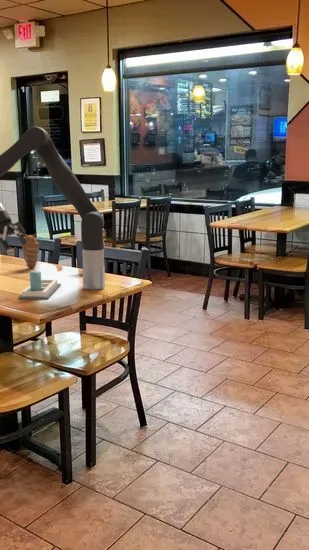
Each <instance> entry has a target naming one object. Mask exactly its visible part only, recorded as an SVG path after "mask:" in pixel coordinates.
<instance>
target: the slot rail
mask: <svg viewBox="0 0 309 550" xmlns="http://www.w3.org/2000/svg"><path fill="white" fill-rule="evenodd" d="M61 286H62V284H61V283H58V279H41V291H30V284H29V285H28V286H27V287H25V288H24V289H23V290H22V291H21V294H20V295H19V296H18V299H19V300H49V299H50V298H52V296H53V295H54V294H55V293H56V291H58V289H59V288H60V287H61Z"/></svg>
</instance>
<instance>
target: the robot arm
mask: <svg viewBox="0 0 309 550" xmlns="http://www.w3.org/2000/svg"><path fill="white" fill-rule="evenodd" d="M33 151H36V153H37V154H38V156H39V157H40V158H41V160H42V161H43V163H44V164H45V167H46V169H47V171H48V174H49V176H50V178H51V181H52V182H53V183H54V185H55V186H56V188H57V189H58V191H59V193H60V194H61V195H62V196H63V197H64V198H65V199H66V200H67V201H68V202H69V203H70V204H71V205H72V207H73V208H75V210H76V211H77V213H78V215H79V216H80V218H81V223H80V233H81V234H80V236H81V237H80V238H81V245H82V288H83V289H86V290H103V289H105V286H106V282H105V281H106V279H105V278H106V274H105V269H106V268H105V262H104V261H105V255H104V254H105V251H104V250H105V247H104V246H105V245H104V239H103V237H104V235H103V234H104V233H103V232H104V229H103V228H104V226H105V219H104V216H103V215H102V213H101V212H100V211H99V210H98V209H97V208H96V206H95V205H94V204H93V203H92V201H91V200H90V198H89V196H88V195H87V193H86V192H85V189H84V188H83V186H82V185H81V183H80V181H79V179H78V178H77V176H76V175H75V173H74V172H73V170H72V169H71V167H70V166H69V164H68V163H67V162H66V161H65V159H64V158H63V157H62V156H61V155H60V153H59V152H58V150H57V148H56V147H55V144H54V143H53V140H52V138H51V137H50V135H49V132H48V131H47V130H45V129H44V128H43V127H41V126H40V127H39V126H30V127H29V128H28V129H27V130H26V131H25V132H24V133H23V134H22V135H21V136H20V137H19V138H18V139H17V140H16V141H15V142H14V143H13V144H12V145H11V146H10V147H9V148H8V149H6V150H5V151H4V152H3V153H1V154H0V178H1V177H2V176H3V175H4V174H6V173H7V172H9V171H10V170H11V169H12V168H13V167H14V166H15V165H16V164H17V163H18V162H19V161H20V160H21V159H22V158H23V157H25V156H26V155H28V154H29V153H31V152H33ZM26 233H27V231H26V230H25V228H24V227H23V225H22V224H21V222H20V221H17V222H15V223H13V221H12V219H11V216H10V215H9V213H8V211H7V210H6V208H5V207H4V205H3V203H2V202H1V201H0V244H2V246H3V248H4V249H5V250H6V251H8V250H9V251H10V249H11V246H10V244H9V243H8V241H7V240H6V237H8V236H14V237H15V236H16V237H18V239H19V241H20V242H21V245H22V244H23V245H25V244H26V242H27V241H26V239H25V234H26Z"/></svg>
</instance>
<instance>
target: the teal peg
mask: <svg viewBox="0 0 309 550" xmlns="http://www.w3.org/2000/svg"><path fill="white" fill-rule="evenodd" d="M41 280H42V271H40V270H33V271H29V281H30V283H29V285H30V291H41Z"/></svg>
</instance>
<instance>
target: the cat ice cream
mask: <svg viewBox="0 0 309 550" xmlns="http://www.w3.org/2000/svg"><path fill="white" fill-rule="evenodd" d="M24 238H25V239H26V241H27V242H26V244H25V245H23V244H22V243H21V247H22V249H21V251H22V253H23V255H22V256H23V258H24V262H25V263H26V267H27V268H29V269H35V267H36V266H37V263H38V258H39V253H40V249H39V248H40V243H39V241H37V239H36V238H37V237H36V233H34V234H29V235H28V234H26V233H25V234H24Z"/></svg>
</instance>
